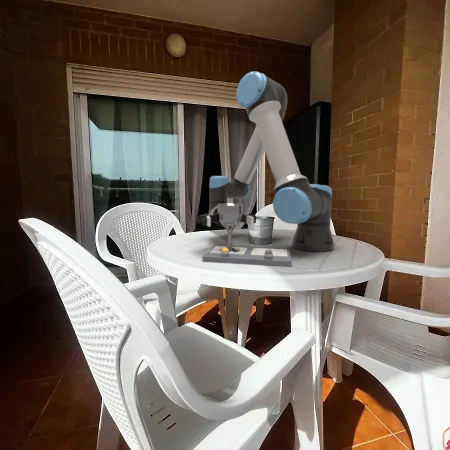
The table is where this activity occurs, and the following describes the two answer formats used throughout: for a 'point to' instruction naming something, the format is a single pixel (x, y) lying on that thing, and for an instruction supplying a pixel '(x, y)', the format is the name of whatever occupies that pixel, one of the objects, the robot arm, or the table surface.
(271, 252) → the indicator board
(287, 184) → the robot arm
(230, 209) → the wine glass
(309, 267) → the table surface
